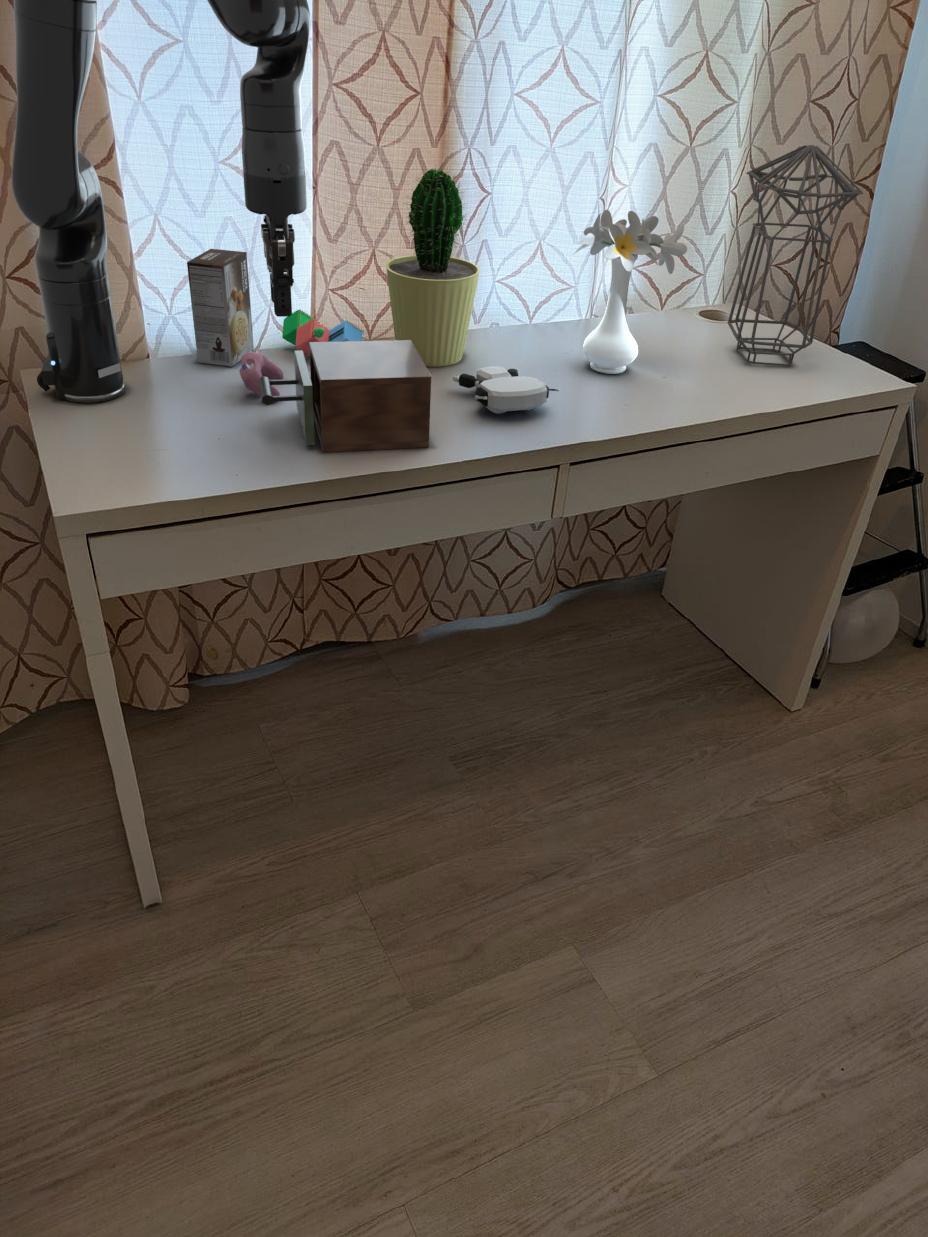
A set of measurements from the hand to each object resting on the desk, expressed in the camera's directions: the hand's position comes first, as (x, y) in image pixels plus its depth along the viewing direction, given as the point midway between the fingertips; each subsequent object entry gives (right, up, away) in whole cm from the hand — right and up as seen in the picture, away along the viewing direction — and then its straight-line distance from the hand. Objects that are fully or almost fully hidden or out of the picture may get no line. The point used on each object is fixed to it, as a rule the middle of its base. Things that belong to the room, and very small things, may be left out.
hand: (281, 308), depth 128 cm
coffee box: (-15, +3, +33) cm, 37 cm away
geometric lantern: (+78, +6, +48) cm, 91 cm away
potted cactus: (+18, +4, +39) cm, 43 cm away
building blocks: (0, +4, +37) cm, 37 cm away
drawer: (+5, -13, +11) cm, 18 cm away
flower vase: (+49, +2, +39) cm, 63 cm away
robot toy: (+30, -7, +23) cm, 39 cm away
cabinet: (+10, -13, +12) cm, 21 cm away
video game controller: (-7, -6, +22) cm, 24 cm away
